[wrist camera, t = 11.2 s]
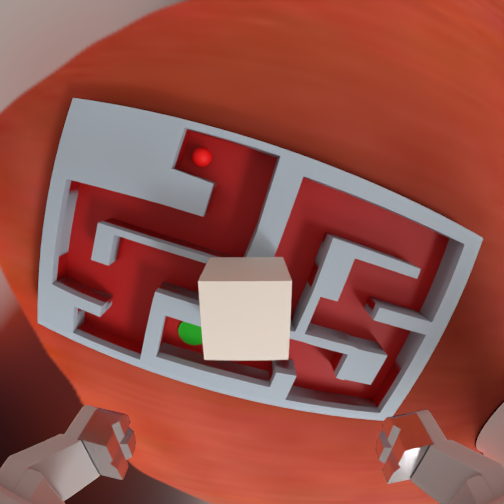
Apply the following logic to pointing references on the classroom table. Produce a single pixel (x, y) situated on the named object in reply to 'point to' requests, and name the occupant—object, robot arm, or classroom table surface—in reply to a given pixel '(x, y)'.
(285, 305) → the cream cube
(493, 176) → the classroom table surface
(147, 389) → the classroom table surface
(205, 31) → the classroom table surface
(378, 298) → the maze game
